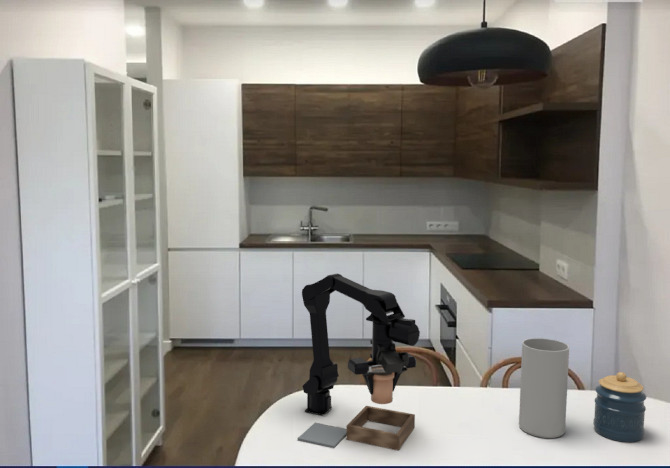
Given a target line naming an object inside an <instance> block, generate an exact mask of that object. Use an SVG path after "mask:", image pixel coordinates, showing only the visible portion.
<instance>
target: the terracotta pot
mask: <svg viewBox="0 0 670 468" xmlns="http://www.w3.org/2000/svg"><path fill="white" fill-rule="evenodd" d="M372 372H373V373H374V376H373V395H371V394H370V401H371V402H372V403H374V404H378V405H387V404H391V403H392V402H393V397H394V396H393V394H394V393H393V392H394V391H393V378H394V372H392V373H386V372H385V371H384V369H383V367H375V368H372Z"/></svg>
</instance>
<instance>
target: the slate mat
mask: <svg viewBox="0 0 670 468" xmlns="http://www.w3.org/2000/svg"><path fill="white" fill-rule="evenodd" d="M346 429H347V428H345V427H340V426H337V425H335V426H334V425H330V424H325V423H320V422H314V423H313V424H311V426H309V427H308V428H307V429H306V430H305V431H304V432H303V433H302V434H300V435H299V436H298V437H297V441H300V442H305V443H308V444H313V445H317V446H322V447H326V448H331V449H335V448H336V447H337V446H338V445H339V444H340V443H341V442H342V440H344V438H345V437H346Z"/></svg>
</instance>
